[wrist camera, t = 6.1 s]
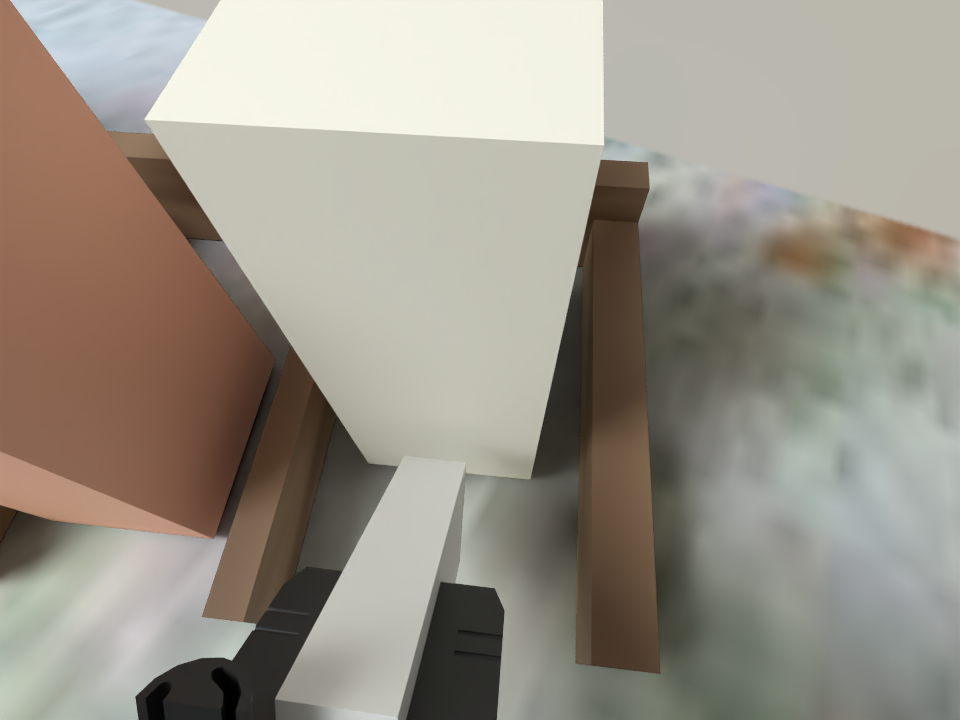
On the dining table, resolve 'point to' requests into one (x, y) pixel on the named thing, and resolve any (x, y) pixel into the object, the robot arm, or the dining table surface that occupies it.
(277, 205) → the ivory key
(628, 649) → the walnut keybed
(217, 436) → the pink rectangular block
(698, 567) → the dining table surface
